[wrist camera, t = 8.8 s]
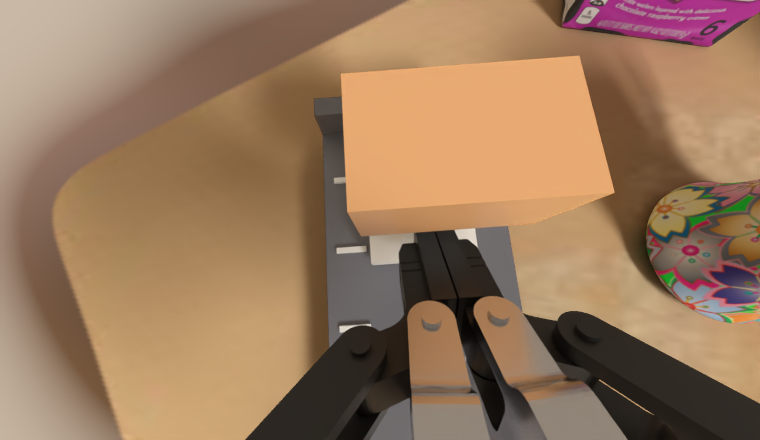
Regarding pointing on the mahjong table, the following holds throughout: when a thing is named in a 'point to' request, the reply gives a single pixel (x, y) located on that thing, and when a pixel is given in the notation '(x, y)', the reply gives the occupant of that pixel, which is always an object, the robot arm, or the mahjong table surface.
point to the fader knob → (468, 148)
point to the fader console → (379, 282)
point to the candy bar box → (661, 18)
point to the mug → (710, 248)
